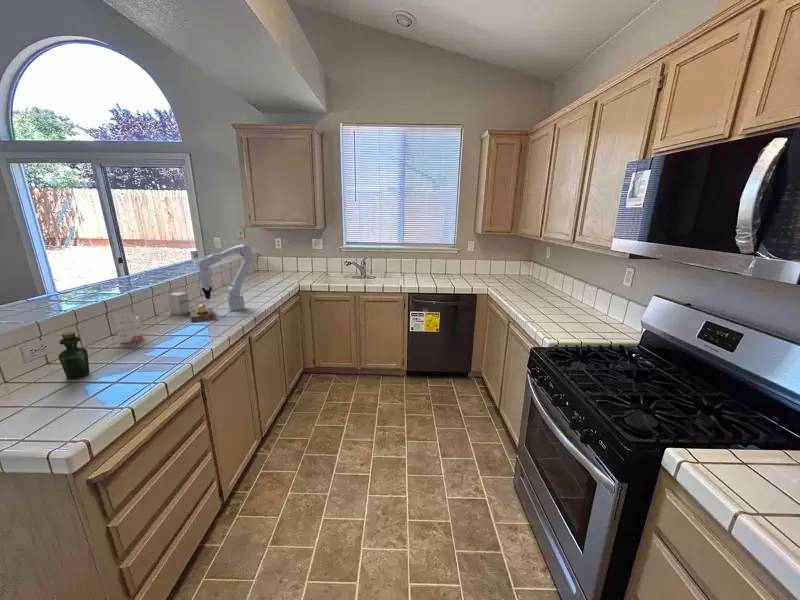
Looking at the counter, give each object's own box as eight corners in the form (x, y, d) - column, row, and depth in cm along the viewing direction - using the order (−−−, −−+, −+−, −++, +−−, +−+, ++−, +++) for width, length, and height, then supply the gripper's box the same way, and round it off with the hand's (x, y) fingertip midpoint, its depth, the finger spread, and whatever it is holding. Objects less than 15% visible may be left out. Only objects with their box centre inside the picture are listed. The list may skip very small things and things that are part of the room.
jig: (213, 312, 214) (212, 307, 214) (214, 319, 201) (214, 314, 201) (191, 314, 208) (190, 309, 207) (191, 321, 195) (191, 317, 194)
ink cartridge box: (143, 337, 170) (138, 310, 167) (141, 340, 166) (136, 313, 162) (122, 339, 166) (116, 312, 163) (119, 343, 162) (113, 314, 158)
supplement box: (180, 314, 207) (177, 295, 203) (170, 313, 208) (167, 294, 205) (189, 311, 214) (187, 292, 210) (180, 310, 215) (177, 291, 212)
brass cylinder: (206, 316, 206) (205, 303, 204) (207, 318, 203) (205, 305, 201) (199, 317, 204) (197, 304, 202) (199, 319, 201) (197, 306, 199)
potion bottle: (63, 375, 131) (53, 332, 126) (91, 369, 137) (82, 328, 132) (64, 383, 125) (52, 338, 121) (92, 376, 131) (83, 333, 126)
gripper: (197, 276, 210) (200, 296, 214) (198, 280, 199) (201, 302, 202) (210, 275, 214) (212, 295, 218) (211, 279, 202) (214, 300, 206)
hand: (208, 298), depth 210 cm, fingers closed
